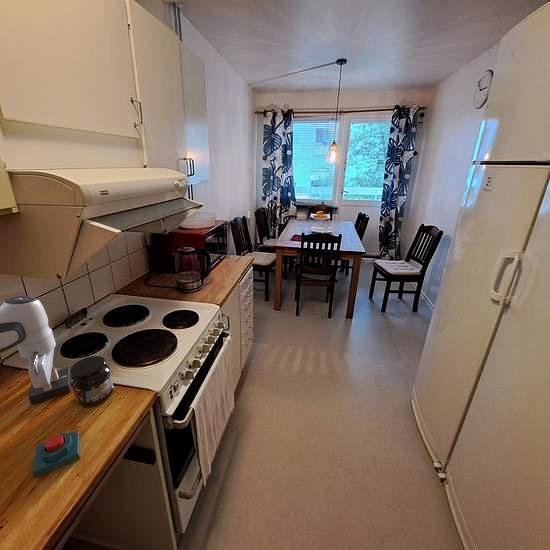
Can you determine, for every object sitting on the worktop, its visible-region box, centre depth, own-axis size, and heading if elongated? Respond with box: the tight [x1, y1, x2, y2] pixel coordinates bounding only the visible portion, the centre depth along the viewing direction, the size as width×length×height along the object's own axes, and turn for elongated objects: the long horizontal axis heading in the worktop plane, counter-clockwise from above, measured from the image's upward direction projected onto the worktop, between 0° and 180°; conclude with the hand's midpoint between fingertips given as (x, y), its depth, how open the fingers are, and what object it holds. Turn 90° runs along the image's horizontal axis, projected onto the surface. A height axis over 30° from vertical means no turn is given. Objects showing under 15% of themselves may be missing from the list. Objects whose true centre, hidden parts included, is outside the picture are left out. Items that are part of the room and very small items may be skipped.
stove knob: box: [50, 368, 59, 382], centre depth 92 cm, size 5×2×4 cm, turn 122°
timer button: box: [45, 433, 64, 452], centre depth 71 cm, size 4×4×2 cm
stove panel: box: [28, 366, 72, 406], centre depth 93 cm, size 10×10×3 cm
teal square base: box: [32, 429, 81, 479], centre depth 72 cm, size 9×8×4 cm
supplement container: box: [69, 355, 115, 408], centre depth 89 cm, size 10×10×12 cm
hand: (49, 380), depth 93 cm, fingers open, 8 cm apart
